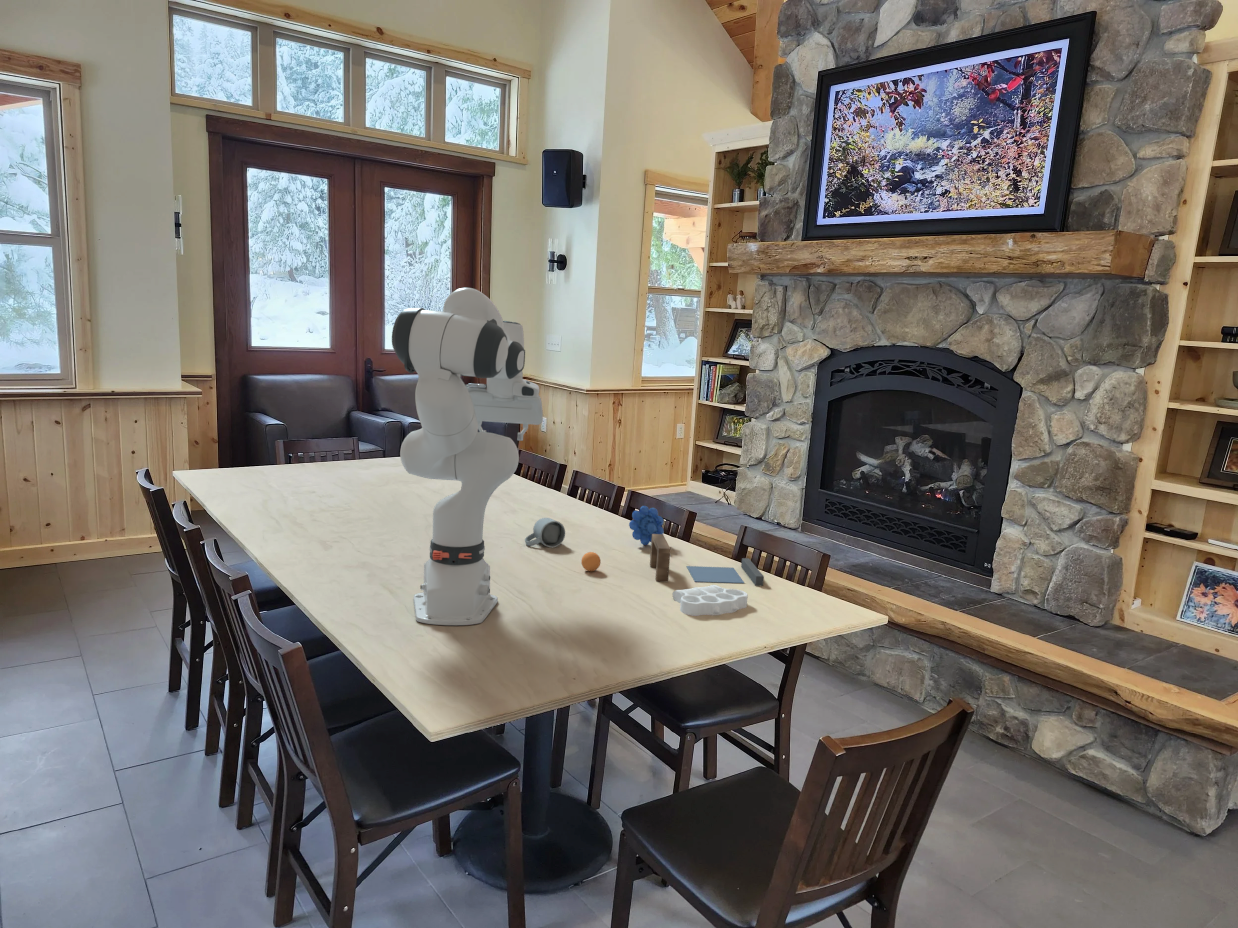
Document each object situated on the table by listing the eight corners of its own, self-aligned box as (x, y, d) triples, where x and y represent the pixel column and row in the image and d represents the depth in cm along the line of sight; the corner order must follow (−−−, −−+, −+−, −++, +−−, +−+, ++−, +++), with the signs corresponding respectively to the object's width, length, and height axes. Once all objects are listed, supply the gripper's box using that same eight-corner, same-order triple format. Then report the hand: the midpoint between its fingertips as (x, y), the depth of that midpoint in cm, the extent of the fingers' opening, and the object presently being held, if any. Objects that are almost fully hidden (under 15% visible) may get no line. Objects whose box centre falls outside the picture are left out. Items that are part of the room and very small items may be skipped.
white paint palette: (720, 593, 208) (759, 612, 196) (660, 602, 199) (697, 623, 187) (721, 580, 208) (760, 598, 195) (661, 588, 198) (698, 608, 186)
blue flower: (635, 550, 240) (637, 509, 238) (624, 544, 246) (626, 504, 244) (669, 547, 245) (672, 507, 243) (658, 541, 251) (661, 502, 249)
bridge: (660, 565, 227) (662, 534, 225) (668, 581, 213) (670, 548, 212) (649, 564, 227) (651, 533, 225) (656, 581, 213) (658, 548, 211)
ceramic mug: (554, 539, 247) (555, 513, 245) (565, 546, 240) (566, 520, 238) (520, 542, 242) (521, 516, 241) (530, 549, 235) (531, 523, 233)
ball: (600, 574, 216) (601, 555, 215) (581, 573, 216) (582, 554, 215) (599, 568, 221) (600, 549, 220) (580, 567, 220) (581, 549, 220)
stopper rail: (762, 585, 215) (763, 576, 214) (755, 585, 214) (756, 576, 214) (748, 567, 230) (749, 558, 230) (741, 566, 230) (741, 558, 230)
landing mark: (744, 583, 216) (744, 582, 216) (694, 581, 214) (694, 581, 214) (733, 568, 228) (733, 567, 228) (686, 566, 227) (686, 565, 227)
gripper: (461, 385, 205) (459, 439, 208) (544, 390, 207) (541, 444, 211) (463, 380, 211) (461, 433, 215) (544, 385, 213) (541, 438, 217)
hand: (501, 438), depth 213 cm, fingers open, 8 cm apart
